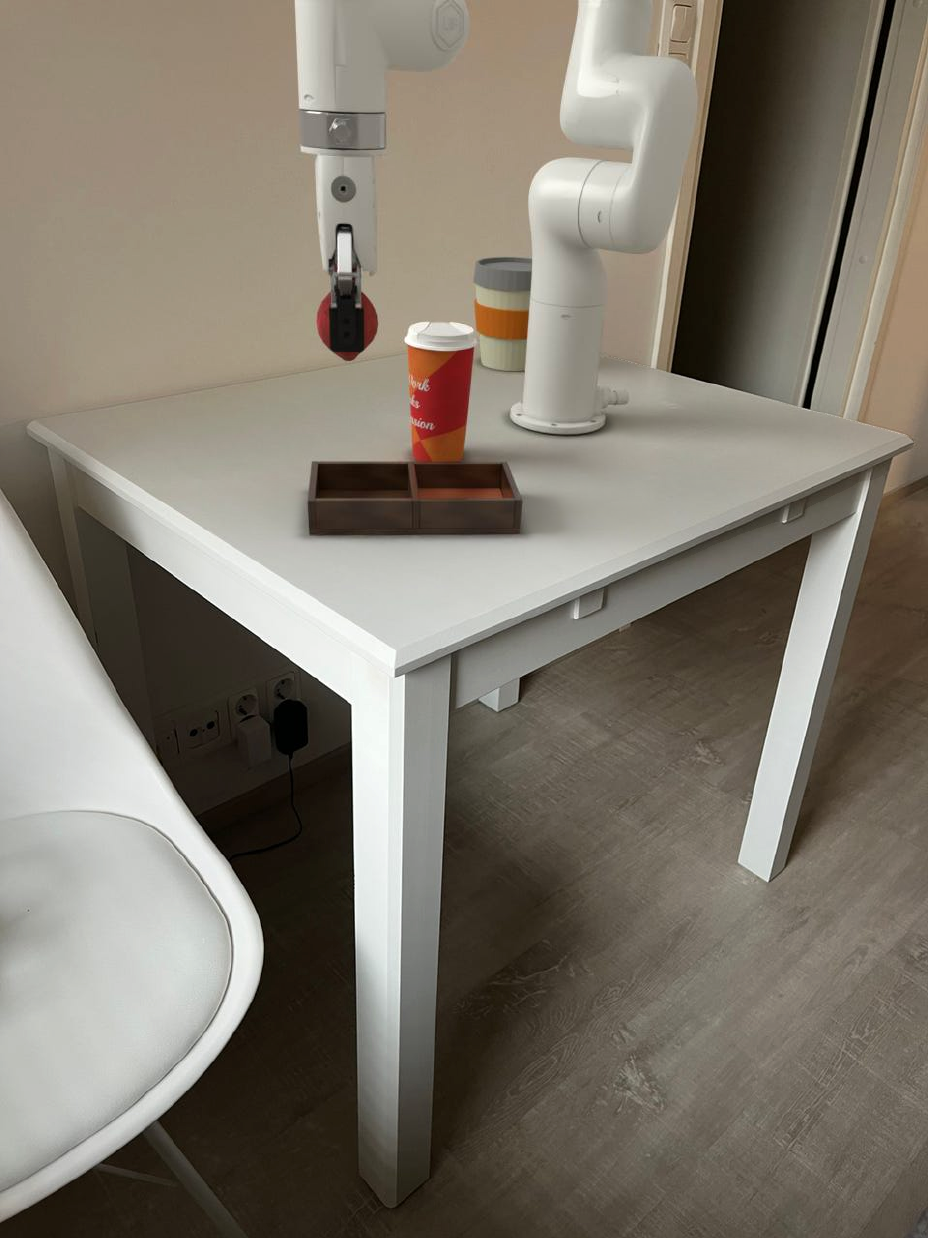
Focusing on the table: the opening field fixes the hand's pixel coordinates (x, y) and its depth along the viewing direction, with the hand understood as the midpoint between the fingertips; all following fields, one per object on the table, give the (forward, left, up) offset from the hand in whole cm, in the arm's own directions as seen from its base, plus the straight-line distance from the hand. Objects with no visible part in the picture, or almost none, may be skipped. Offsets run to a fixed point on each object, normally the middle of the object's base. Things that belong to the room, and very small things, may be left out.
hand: (347, 340), depth 94 cm
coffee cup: (-13, -11, -17) cm, 24 cm away
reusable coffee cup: (-38, -48, -17) cm, 64 cm away
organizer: (-5, +4, -17) cm, 18 cm away
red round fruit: (0, 0, -2) cm, 2 cm away
